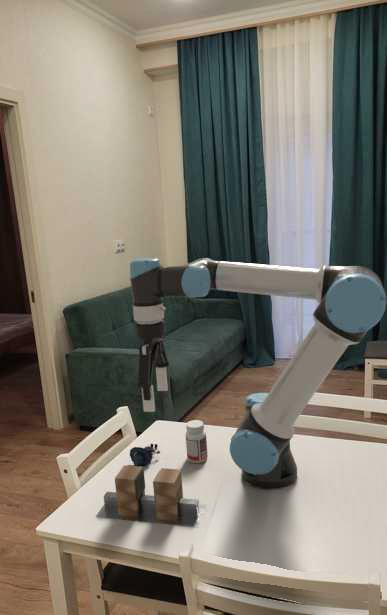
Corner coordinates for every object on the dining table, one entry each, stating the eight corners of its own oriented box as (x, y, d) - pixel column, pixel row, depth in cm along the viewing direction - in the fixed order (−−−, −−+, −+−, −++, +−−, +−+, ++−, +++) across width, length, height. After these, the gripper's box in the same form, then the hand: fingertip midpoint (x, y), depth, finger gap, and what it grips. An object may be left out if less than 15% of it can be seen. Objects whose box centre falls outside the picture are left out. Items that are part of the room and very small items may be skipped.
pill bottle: (204, 452, 149) (202, 417, 147) (209, 461, 143) (207, 426, 141) (185, 455, 148) (182, 420, 146) (189, 465, 142) (186, 429, 140)
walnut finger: (183, 506, 121) (180, 469, 119) (177, 521, 115) (174, 483, 113) (163, 504, 122) (160, 468, 120) (155, 518, 117) (152, 481, 115)
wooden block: (147, 502, 123) (144, 466, 121) (139, 517, 118) (135, 479, 116) (127, 500, 125) (123, 465, 123) (118, 515, 119) (114, 478, 117)
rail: (206, 507, 121) (205, 491, 120) (198, 531, 113) (197, 513, 112) (110, 499, 128) (108, 483, 127) (95, 520, 119) (93, 504, 118)
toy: (166, 438, 153) (149, 449, 139) (166, 461, 153) (149, 474, 138) (142, 437, 155) (123, 447, 141) (141, 460, 155) (122, 472, 140)
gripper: (150, 333, 109) (158, 421, 113) (174, 309, 133) (180, 383, 137) (119, 333, 110) (127, 420, 114) (148, 310, 134) (154, 383, 138)
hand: (156, 400), depth 126 cm, fingers open, 13 cm apart
